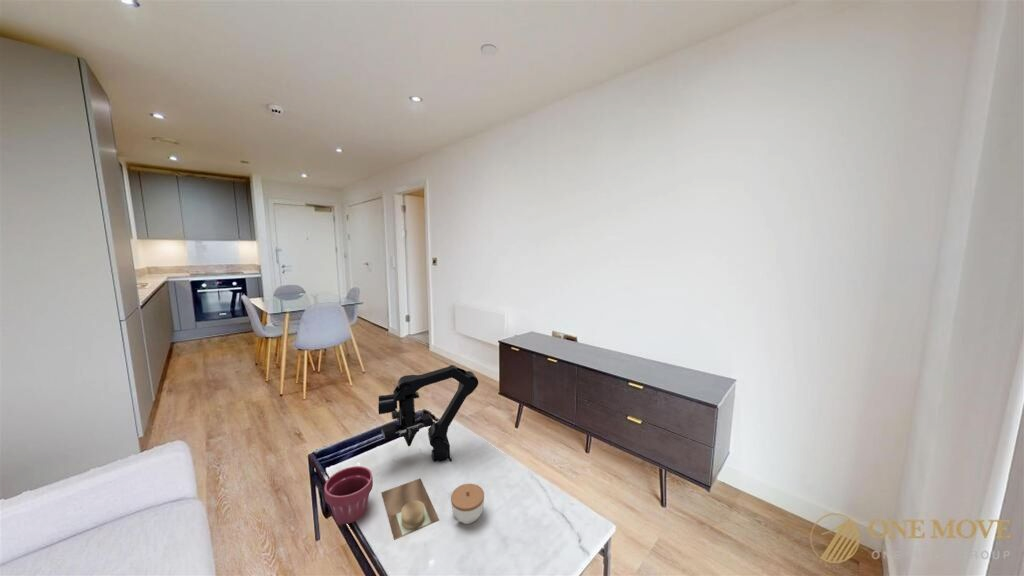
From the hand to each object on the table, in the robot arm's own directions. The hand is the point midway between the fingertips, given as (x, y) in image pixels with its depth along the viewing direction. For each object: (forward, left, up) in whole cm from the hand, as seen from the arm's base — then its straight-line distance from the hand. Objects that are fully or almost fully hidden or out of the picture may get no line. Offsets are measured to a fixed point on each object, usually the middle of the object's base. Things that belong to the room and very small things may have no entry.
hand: (408, 445), depth 132 cm
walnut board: (+6, +21, -9) cm, 24 cm away
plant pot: (+23, +14, -9) cm, 28 cm away
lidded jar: (-10, +34, -9) cm, 37 cm away
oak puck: (+6, +28, -8) cm, 30 cm away
